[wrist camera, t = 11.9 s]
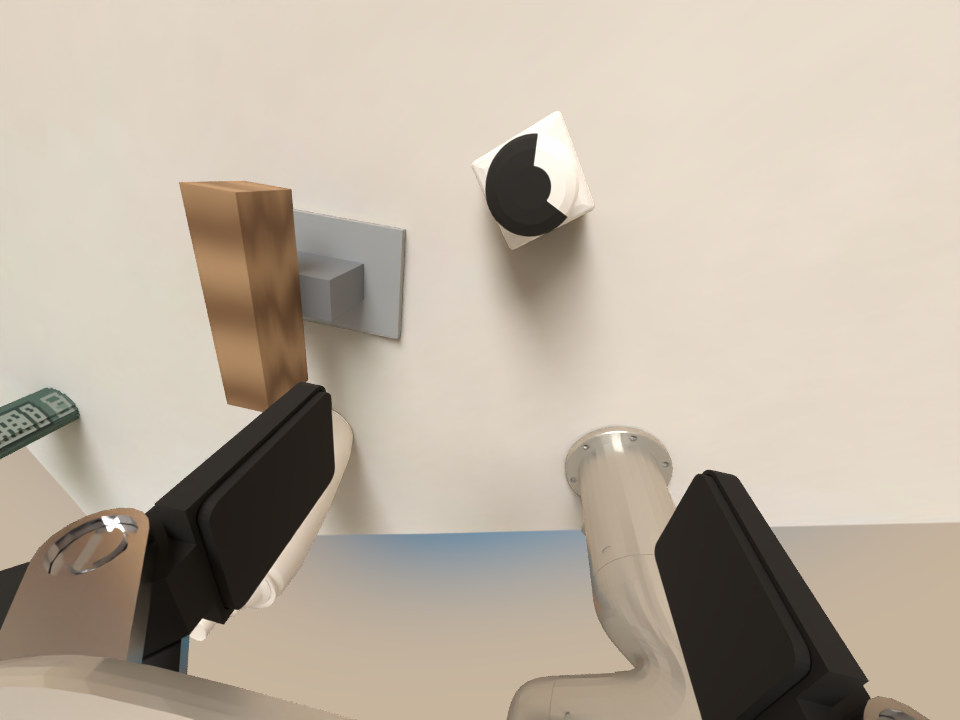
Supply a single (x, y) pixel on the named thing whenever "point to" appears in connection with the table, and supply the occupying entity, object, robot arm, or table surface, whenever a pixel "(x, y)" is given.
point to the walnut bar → (249, 286)
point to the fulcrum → (350, 273)
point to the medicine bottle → (534, 182)
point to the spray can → (296, 534)
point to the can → (33, 418)
